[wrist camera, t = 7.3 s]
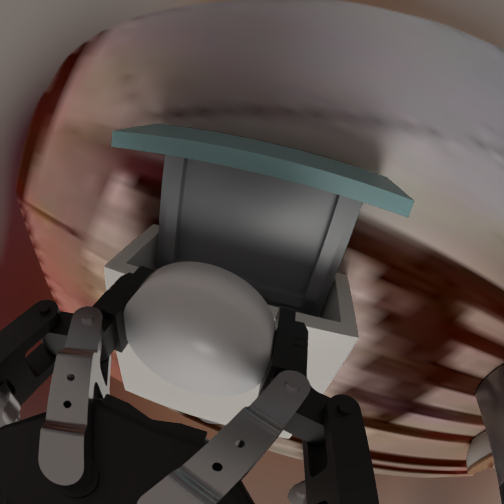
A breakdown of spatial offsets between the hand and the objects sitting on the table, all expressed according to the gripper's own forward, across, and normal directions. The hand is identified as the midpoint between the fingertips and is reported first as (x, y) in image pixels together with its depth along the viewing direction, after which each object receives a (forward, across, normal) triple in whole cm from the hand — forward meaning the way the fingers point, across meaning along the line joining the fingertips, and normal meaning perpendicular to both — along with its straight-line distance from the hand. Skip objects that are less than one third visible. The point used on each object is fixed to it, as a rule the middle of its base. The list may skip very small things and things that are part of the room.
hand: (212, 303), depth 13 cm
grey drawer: (+10, 0, +2) cm, 11 cm away
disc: (-1, 0, 0) cm, 1 cm away
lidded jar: (+12, -59, +33) cm, 69 cm away
